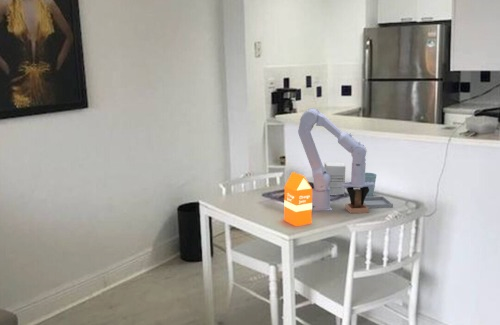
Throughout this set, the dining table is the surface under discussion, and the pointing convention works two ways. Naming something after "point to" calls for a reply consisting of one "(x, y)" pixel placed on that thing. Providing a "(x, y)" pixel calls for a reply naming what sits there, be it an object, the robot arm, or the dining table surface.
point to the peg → (357, 198)
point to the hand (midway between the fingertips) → (356, 204)
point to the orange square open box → (357, 210)
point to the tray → (377, 202)
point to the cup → (370, 178)
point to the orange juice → (298, 200)
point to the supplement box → (336, 176)
